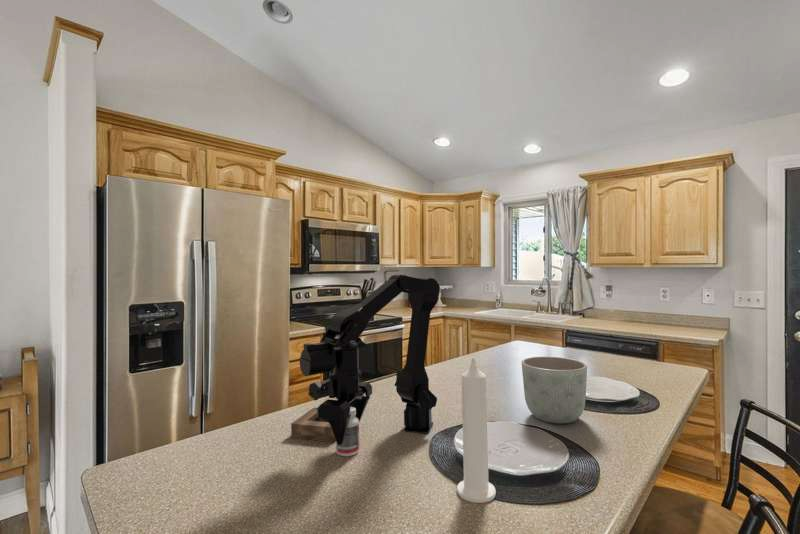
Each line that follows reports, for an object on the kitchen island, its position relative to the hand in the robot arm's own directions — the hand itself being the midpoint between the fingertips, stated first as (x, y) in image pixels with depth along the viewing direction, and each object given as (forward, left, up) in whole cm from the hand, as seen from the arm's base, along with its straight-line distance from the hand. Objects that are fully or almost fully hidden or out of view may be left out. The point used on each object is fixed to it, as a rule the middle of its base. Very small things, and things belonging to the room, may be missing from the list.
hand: (347, 436), depth 91 cm
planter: (-48, -32, -4) cm, 58 cm away
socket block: (+11, -10, -4) cm, 15 cm away
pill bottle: (0, 0, -4) cm, 4 cm away
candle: (-30, +10, -4) cm, 32 cm away
